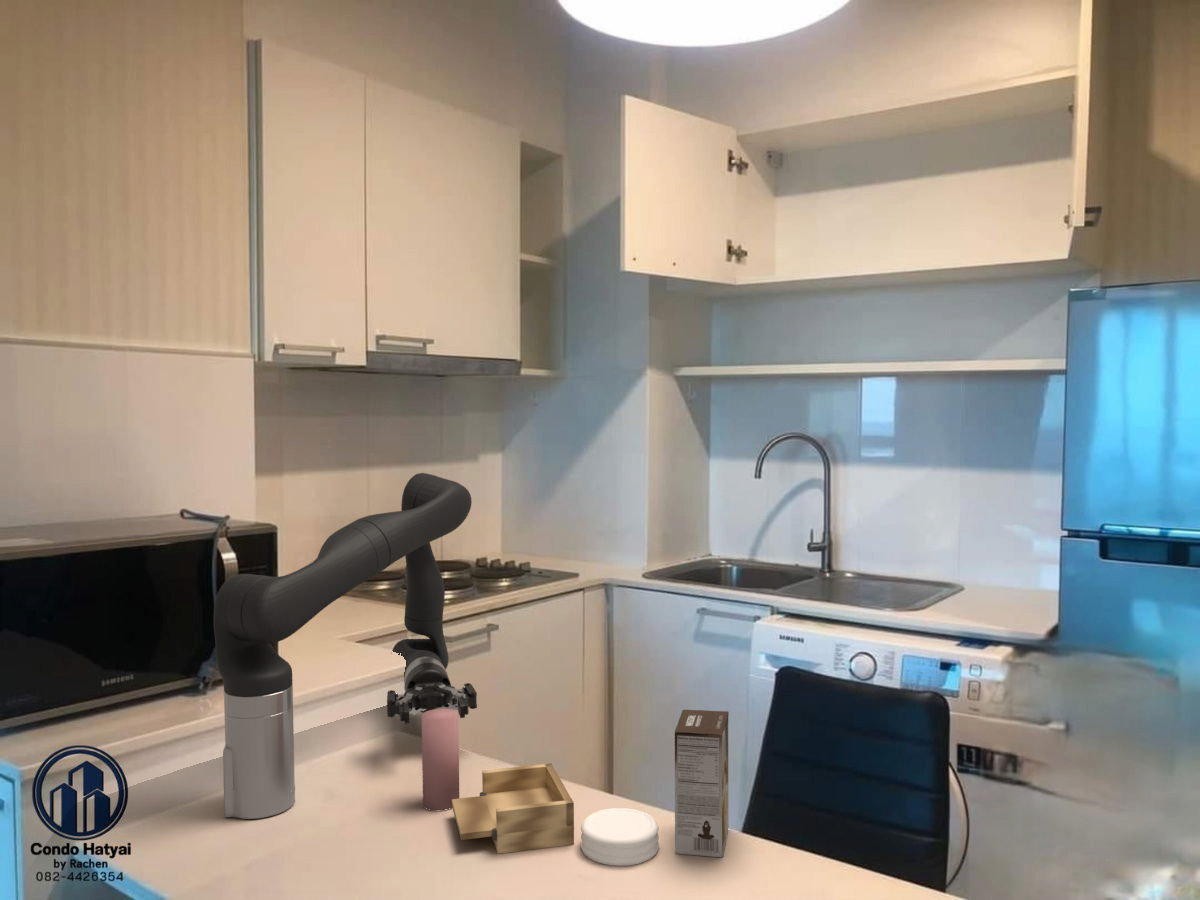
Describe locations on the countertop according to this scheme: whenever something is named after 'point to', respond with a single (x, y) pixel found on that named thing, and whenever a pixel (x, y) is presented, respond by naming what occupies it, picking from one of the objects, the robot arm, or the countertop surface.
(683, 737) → the coffee box
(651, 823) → the white round ridged container
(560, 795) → the box
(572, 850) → the countertop surface
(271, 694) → the robot arm
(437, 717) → the pink pillar candle
